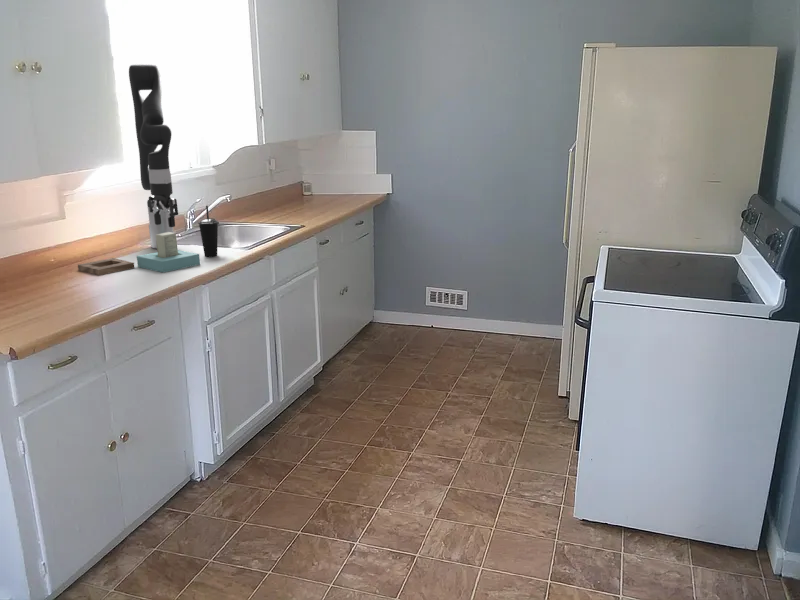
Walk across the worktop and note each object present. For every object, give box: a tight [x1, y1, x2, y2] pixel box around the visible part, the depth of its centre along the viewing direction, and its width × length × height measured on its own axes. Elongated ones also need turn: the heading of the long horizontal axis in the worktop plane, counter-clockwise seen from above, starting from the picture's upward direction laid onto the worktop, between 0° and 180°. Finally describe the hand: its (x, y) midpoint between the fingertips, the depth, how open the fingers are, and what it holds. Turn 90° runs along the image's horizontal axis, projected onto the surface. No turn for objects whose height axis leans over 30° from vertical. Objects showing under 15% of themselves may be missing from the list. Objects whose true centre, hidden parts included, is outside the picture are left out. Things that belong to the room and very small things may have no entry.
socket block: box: [136, 249, 201, 273], centre depth 261 cm, size 16×16×4 cm
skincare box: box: [156, 231, 179, 258], centre depth 260 cm, size 6×4×12 cm
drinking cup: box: [197, 205, 219, 258], centre depth 274 cm, size 8×8×20 cm
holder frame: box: [77, 257, 135, 276], centre depth 256 cm, size 14×14×2 cm
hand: (165, 225), depth 257 cm, fingers open, 8 cm apart
